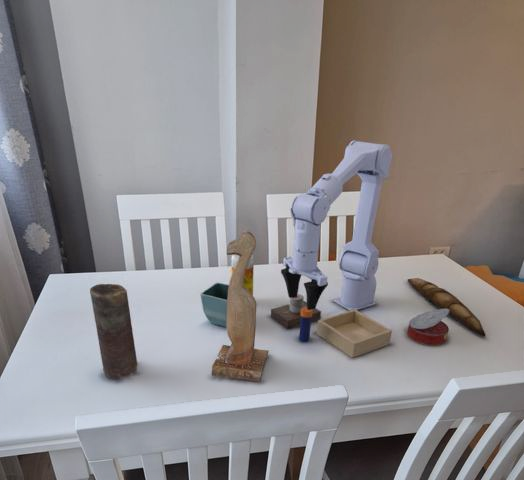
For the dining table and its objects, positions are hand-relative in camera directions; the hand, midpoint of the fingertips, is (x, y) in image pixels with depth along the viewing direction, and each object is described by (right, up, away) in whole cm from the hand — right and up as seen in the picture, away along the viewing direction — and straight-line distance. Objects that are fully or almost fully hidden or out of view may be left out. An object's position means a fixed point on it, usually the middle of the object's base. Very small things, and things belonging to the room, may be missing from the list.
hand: (301, 302), depth 116 cm
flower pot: (-20, -4, +11) cm, 23 cm away
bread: (+43, +1, +23) cm, 48 cm away
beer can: (-15, +2, +21) cm, 26 cm away
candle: (-41, -16, -10) cm, 45 cm away
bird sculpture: (-15, -16, -7) cm, 22 cm away
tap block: (-1, -3, +14) cm, 15 cm away
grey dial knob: (0, -1, +13) cm, 13 cm away
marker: (+1, -9, +4) cm, 10 cm away
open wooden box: (+13, -9, +5) cm, 17 cm away
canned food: (+33, -8, +8) cm, 35 cm away
